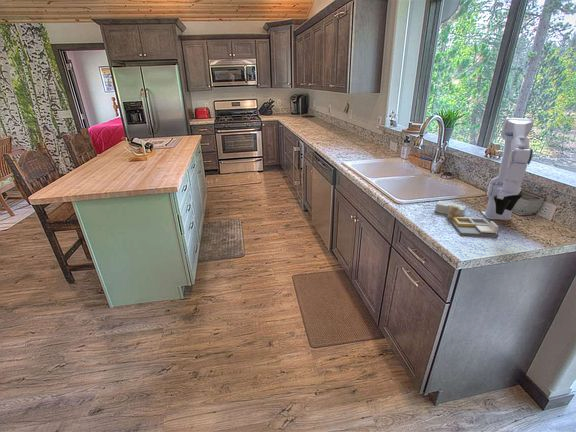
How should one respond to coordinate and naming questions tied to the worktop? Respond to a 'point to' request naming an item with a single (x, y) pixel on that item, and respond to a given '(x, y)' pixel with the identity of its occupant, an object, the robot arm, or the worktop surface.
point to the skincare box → (444, 208)
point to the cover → (488, 228)
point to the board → (471, 226)
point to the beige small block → (453, 211)
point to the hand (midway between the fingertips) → (503, 211)
